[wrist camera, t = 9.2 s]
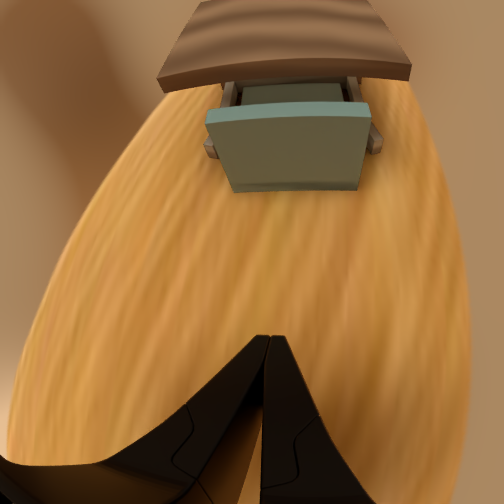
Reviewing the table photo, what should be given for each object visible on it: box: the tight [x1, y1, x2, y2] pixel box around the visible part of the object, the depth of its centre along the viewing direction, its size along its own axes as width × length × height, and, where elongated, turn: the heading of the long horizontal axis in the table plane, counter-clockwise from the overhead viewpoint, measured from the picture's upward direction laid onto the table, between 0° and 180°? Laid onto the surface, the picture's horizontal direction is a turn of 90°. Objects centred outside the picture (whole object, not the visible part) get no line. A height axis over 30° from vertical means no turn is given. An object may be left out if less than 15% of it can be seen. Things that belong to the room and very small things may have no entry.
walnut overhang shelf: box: [157, 0, 412, 159], centre depth 24 cm, size 16×17×12 cm
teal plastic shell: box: [205, 83, 372, 193], centre depth 24 cm, size 14×11×9 cm
